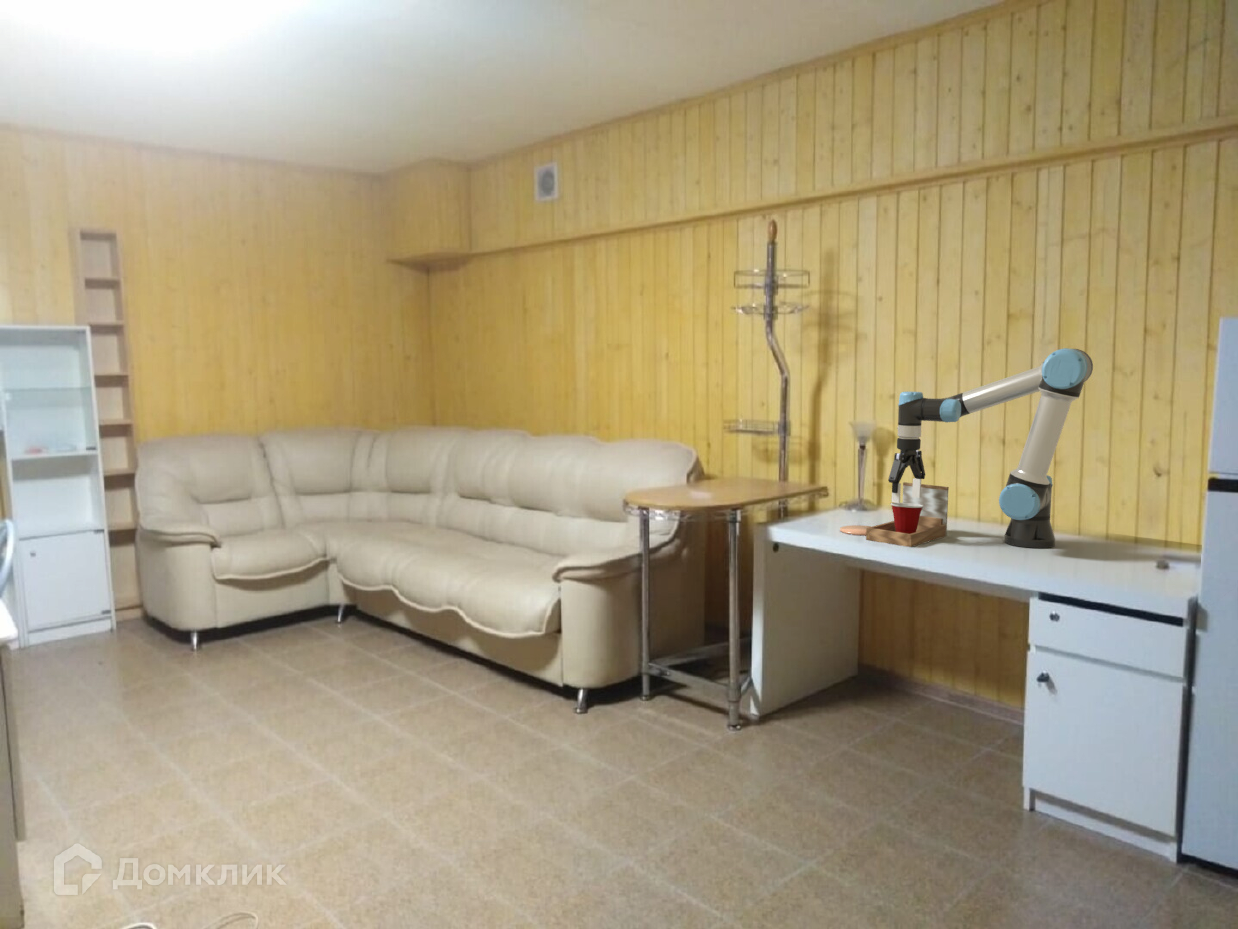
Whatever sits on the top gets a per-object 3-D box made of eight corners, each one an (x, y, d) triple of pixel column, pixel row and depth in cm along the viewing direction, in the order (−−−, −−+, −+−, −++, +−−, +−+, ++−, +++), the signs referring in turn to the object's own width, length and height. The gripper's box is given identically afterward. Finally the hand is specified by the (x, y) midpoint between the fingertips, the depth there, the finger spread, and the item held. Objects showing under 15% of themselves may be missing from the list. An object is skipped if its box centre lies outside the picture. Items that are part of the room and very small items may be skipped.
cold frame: (946, 535, 303) (948, 487, 301) (910, 547, 287) (912, 495, 284) (903, 529, 315) (904, 482, 313) (866, 539, 299) (867, 490, 296)
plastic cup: (928, 537, 300) (929, 503, 299) (913, 542, 293) (914, 507, 291) (898, 533, 308) (899, 499, 307) (883, 538, 301) (884, 503, 299)
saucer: (888, 531, 312) (888, 529, 312) (867, 537, 302) (867, 535, 302) (854, 526, 322) (854, 523, 322) (832, 531, 313) (832, 529, 312)
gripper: (917, 434, 307) (914, 494, 310) (879, 439, 290) (876, 502, 293) (937, 435, 302) (934, 497, 305) (900, 441, 285) (897, 506, 288)
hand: (906, 500), depth 299 cm, fingers open, 13 cm apart
